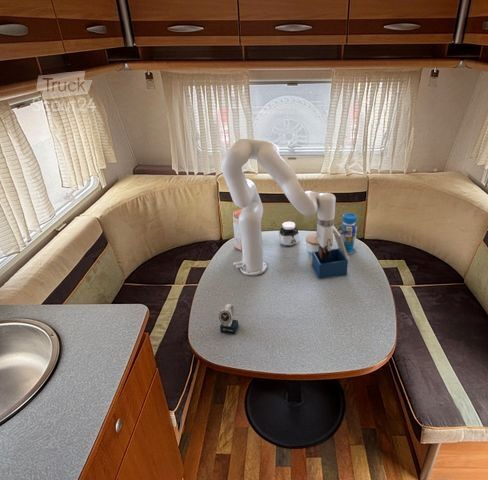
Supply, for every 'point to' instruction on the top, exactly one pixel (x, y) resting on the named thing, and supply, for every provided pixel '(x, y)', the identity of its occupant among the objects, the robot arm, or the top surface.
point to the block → (321, 251)
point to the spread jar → (288, 234)
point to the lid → (340, 240)
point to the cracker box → (237, 229)
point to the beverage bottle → (349, 232)
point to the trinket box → (312, 243)
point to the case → (330, 264)
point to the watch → (228, 320)
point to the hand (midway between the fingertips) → (324, 255)
